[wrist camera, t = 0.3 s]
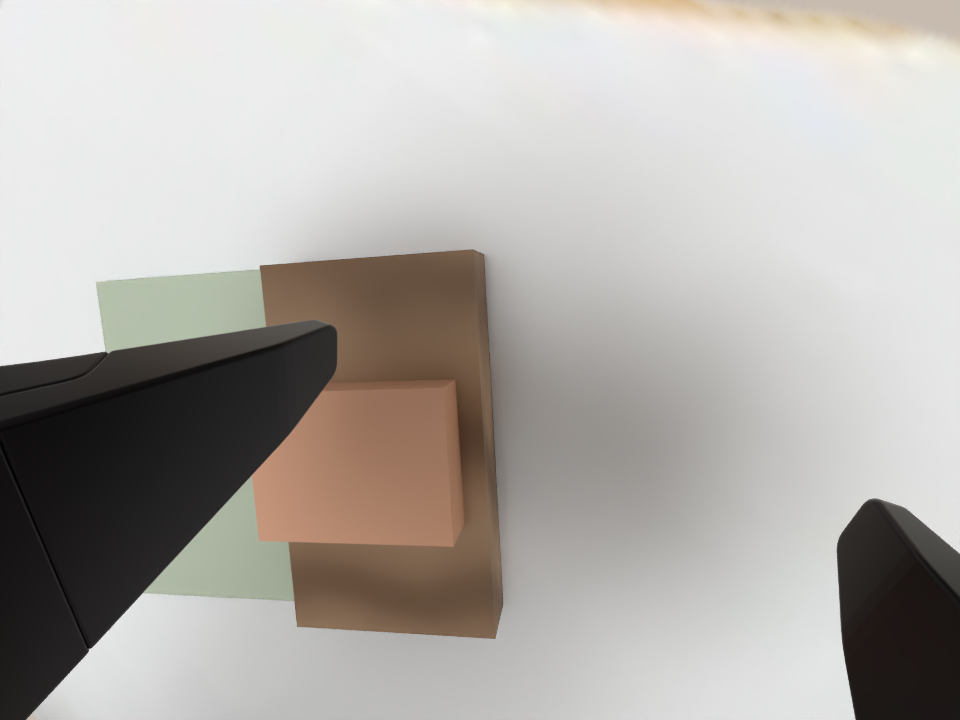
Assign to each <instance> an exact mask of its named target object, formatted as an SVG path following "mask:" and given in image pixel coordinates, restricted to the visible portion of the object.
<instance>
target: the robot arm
mask: <svg viewBox="0 0 960 720" xmlns="http://www.w3.org/2000/svg"><path fill="white" fill-rule="evenodd" d="M336 368H337V330H336V328H335V327H334V325H332V324H329V323H326V322H322V321H319V320H307V321H301V322H294V323H288V324H281V325H275V326H268V327H262V328H255V329H249V330H243V331H236V332H230V333H223V334H217V335H210V336H204V337H197V338H191V339H184V340H178V341H172V342H165V343H159V344H152V345H146V346H139V347H133V348H126V349H120V350H114V351H111V352H110V353H108V352H100V353H94V354H87V355H81V356H74V357H67V358H60V359H53V360H46V361H39V362H30V363H22V364H14V365H6V366H0V720H26V719H27V718H28V717H29V716H30V715H31V714H32V713H33V712H34V710H35V709H36V708H37V707H38V706H39V705H40V704H41V703H42V702H43V701H44V700H45V699H46V698H47V696H48V695H49V694H50V693H51V692H52V691H53V690H54V689H55V688H56V687H57V686H58V685H59V684H60V682H61V681H62V680H63V679H64V678H65V677H66V676H67V675H68V674H69V673H70V672H71V671H72V669H73V668H74V667H75V666H76V665H77V664H78V663H79V662H80V661H81V660H82V659H83V658H84V657H85V655H86V654H87V653H88V652H89V649H90V648H92V647H93V646H94V645H95V644H96V643H97V642H98V641H99V640H100V639H101V638H102V637H103V636H104V634H105V633H106V632H107V631H108V630H109V629H110V628H111V627H112V626H113V625H114V624H115V623H116V622H117V620H118V619H119V618H120V617H121V616H122V615H123V614H124V613H125V612H126V611H127V610H128V609H129V607H130V606H131V605H132V604H133V603H134V602H135V601H136V600H137V599H138V598H139V597H140V596H141V595H142V593H143V592H144V591H145V590H146V589H147V588H148V587H149V586H150V585H151V584H152V583H153V582H154V581H155V579H156V578H157V577H158V576H159V575H160V574H161V573H162V572H163V571H164V570H165V569H166V568H167V566H168V565H169V564H170V563H171V562H172V561H173V560H174V559H175V558H176V557H177V556H178V555H179V554H180V552H181V551H182V550H183V549H184V548H185V547H186V546H187V545H188V544H189V543H190V542H191V541H192V540H193V538H194V537H195V536H196V535H197V534H198V533H199V532H200V531H201V530H202V529H203V528H204V527H205V525H206V524H207V523H208V522H209V521H210V520H211V519H212V518H213V517H214V516H215V515H216V514H217V513H218V511H219V510H220V509H221V508H222V507H223V506H224V505H225V504H226V503H227V502H228V501H229V500H230V498H231V497H232V496H233V495H234V494H235V493H236V492H237V491H238V490H239V489H240V488H241V487H242V486H243V484H244V483H245V482H246V481H247V480H248V479H249V478H250V477H251V476H252V475H253V474H254V473H255V472H256V470H257V469H258V468H259V467H260V466H261V465H262V464H263V463H264V462H265V461H266V460H267V459H268V457H269V456H270V455H271V454H272V453H273V452H274V451H275V450H276V449H277V448H278V447H279V446H280V445H281V443H282V442H283V441H284V440H285V439H286V438H287V437H288V435H289V434H290V433H291V432H292V431H293V429H294V428H295V427H296V426H297V424H298V423H299V422H300V420H301V419H302V418H303V416H304V415H305V413H306V412H307V411H308V409H309V408H310V407H311V405H312V404H313V403H314V401H315V400H316V399H317V397H318V396H319V395H320V393H321V392H322V391H323V389H324V388H325V386H326V385H327V384H328V382H329V381H330V380H331V378H332V377H333V375H334V373H335V371H336ZM837 564H838V582H839V600H840V618H841V633H842V644H843V651H844V657H845V663H846V669H847V674H848V680H849V686H850V691H851V697H852V702H853V708H854V713H855V719H856V720H960V554H959V553H958V552H957V551H956V550H955V549H953V548H952V547H951V546H950V545H949V544H947V543H946V542H945V541H944V540H943V539H941V538H940V537H939V536H938V535H937V534H936V533H934V532H933V531H932V530H931V529H930V528H928V527H927V526H926V525H925V524H924V523H923V522H921V521H920V520H919V519H918V518H917V517H915V516H914V515H913V514H912V513H911V512H909V511H908V510H907V509H906V508H904V507H901V506H899V505H896V504H893V503H889V502H886V501H883V500H880V499H875V498H874V499H869V500H868V501H866V502H865V503H864V504H863V505H862V506H861V508H860V509H859V510H858V512H857V513H856V515H855V516H854V517H853V519H852V520H851V521H850V523H849V524H848V525H847V527H846V528H845V529H844V531H843V532H842V534H841V535H840V537H839V540H838V543H837ZM88 648H89V649H88Z"/></svg>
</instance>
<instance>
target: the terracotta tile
mask: <svg viewBox="0 0 960 720" xmlns="http://www.w3.org/2000/svg"><path fill="white" fill-rule="evenodd" d="M252 481H253V490H254V499H255V508H256V517H257V526H258V535H259V541H276V542H310V543H344V544H377V545H411V546H445V547H454V545H455V543H456V541H457V539H458V537H459V534H460V532H461V530H462V528H463V526H464V524H465V522H464V506H463V491H462V475H461V459H460V443H459V427H458V411H457V396H456V380H455V379H447V380H414V381H381V382H348V383H328V384H327V385H326V386H325V388H324V389H323V391H322V392H321V393H320V395H319V396H318V397H317V399H316V400H315V401H314V403H313V404H312V405H311V407H310V408H309V409H308V411H307V412H306V413H305V415H304V416H303V418H302V419H301V420H300V422H299V423H298V424H297V426H296V427H295V428H294V429H293V431H292V432H291V433H290V434H289V435H288V437H287V438H286V439H285V440H284V441H283V442H282V443H281V445H280V446H279V447H278V448H277V449H276V450H275V451H274V452H273V453H272V454H271V455H270V456H269V457H268V459H267V460H266V461H265V462H264V463H263V464H262V465H261V466H260V467H259V468H258V469H257V470H256V472H255V473H254V474H253V475H252Z"/></svg>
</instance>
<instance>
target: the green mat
mask: <svg viewBox="0 0 960 720" xmlns="http://www.w3.org/2000/svg"><path fill="white" fill-rule="evenodd" d="M96 286H97V293H98V300H99V307H100V315H101V322H102V329H103V336H104V343H105V350H106V352H108V353H110V352H111V351H114V350H120V349H126V348H133V347H139V346H146V345H152V344H159V343H165V342H172V341H178V340H184V339H191V338H197V337H204V336H210V335H217V334H223V333H230V332H236V331H243V330H249V329H255V328H262V327H266V321H265V311H264V302H263V292H262V282H261V273H260V270H253V271H239V272H226V273H212V274H199V275H185V276H172V277H159V278H145V279H132V280H118V281H105V282H96ZM143 593H151V594H171V595H190V596H209V597H228V598H248V599H267V600H286V601H294V591H293V582H292V572H291V563H290V553H289V543H288V542H276V541H259V535H258V526H257V517H256V508H255V499H254V490H253V481H252V476H251V477H250V478H249V479H248V480H247V481H246V482H245V483H244V484H243V486H242V487H241V488H240V489H239V490H238V491H237V492H236V493H235V494H234V495H233V496H232V497H231V498H230V500H229V501H228V502H227V503H226V504H225V505H224V506H223V507H222V508H221V509H220V510H219V511H218V513H217V514H216V515H215V516H214V517H213V518H212V519H211V520H210V521H209V522H208V523H207V524H206V525H205V527H204V528H203V529H202V530H201V531H200V532H199V533H198V534H197V535H196V536H195V537H194V538H193V540H192V541H191V542H190V543H189V544H188V545H187V546H186V547H185V548H184V549H183V550H182V551H181V552H180V554H179V555H178V556H177V557H176V558H175V559H174V560H173V561H172V562H171V563H170V564H169V565H168V566H167V568H166V569H165V570H164V571H163V572H162V573H161V574H160V575H159V576H158V577H157V578H156V579H155V581H154V582H153V583H152V584H151V585H150V586H149V587H148V588H147V589H146V590H145V591H144V592H143Z"/></svg>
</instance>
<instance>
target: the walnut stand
mask: <svg viewBox="0 0 960 720" xmlns="http://www.w3.org/2000/svg"><path fill="white" fill-rule="evenodd" d="M260 273H261V282H262V292H263V302H264V311H265V321H266V327H268V326H275V325H281V324H288V323H294V322H301V321H307V320H319V321H322V322H326V323H329V324H332V325H334V327H335V328H336V330H337V368H336V371H335V373H334V375H333V377H332V378H331V380H330V381H329V382H328V383H348V382H381V381H414V380H447V379H455V380H456V396H457V411H458V427H459V443H460V459H461V475H462V491H463V506H464V522H465V524H464V526H463V528H462V530H461V532H460V534H459V537H458V539H457V541H456V543H455V545H454V547H445V546H411V545H377V544H344V543H310V542H288V543H289V553H290V563H291V572H292V582H293V591H294V601H295V611H296V620H297V627H313V628H329V629H345V630H361V631H377V632H394V633H410V634H426V635H442V636H459V637H475V638H491V639H495V638H496V633H497V629H498V624H499V620H500V616H501V611H502V607H503V593H502V575H501V557H500V539H499V521H498V503H497V485H496V467H495V449H494V431H493V413H492V395H491V376H490V358H489V340H488V322H487V304H486V286H485V268H484V254H481V253H479V252H477V251H475V250H460V251H446V252H433V253H420V254H407V255H394V256H381V257H368V258H354V259H341V260H328V261H315V262H302V263H289V264H276V265H262V266H260Z"/></svg>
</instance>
